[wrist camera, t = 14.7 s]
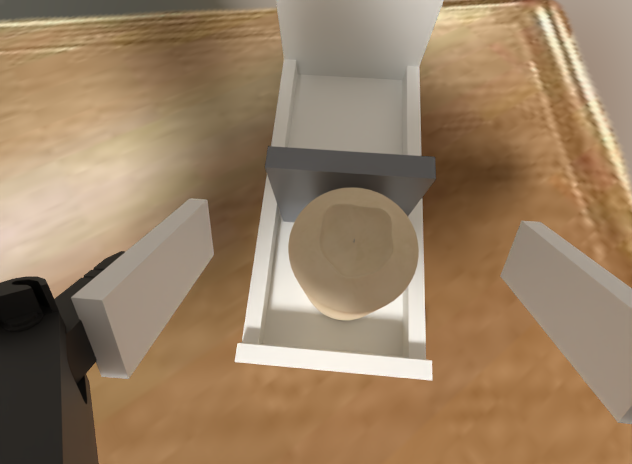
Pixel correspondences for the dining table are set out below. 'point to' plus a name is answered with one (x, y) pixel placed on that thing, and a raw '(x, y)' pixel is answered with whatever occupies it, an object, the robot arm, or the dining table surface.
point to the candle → (352, 252)
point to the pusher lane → (342, 135)
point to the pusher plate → (345, 176)
